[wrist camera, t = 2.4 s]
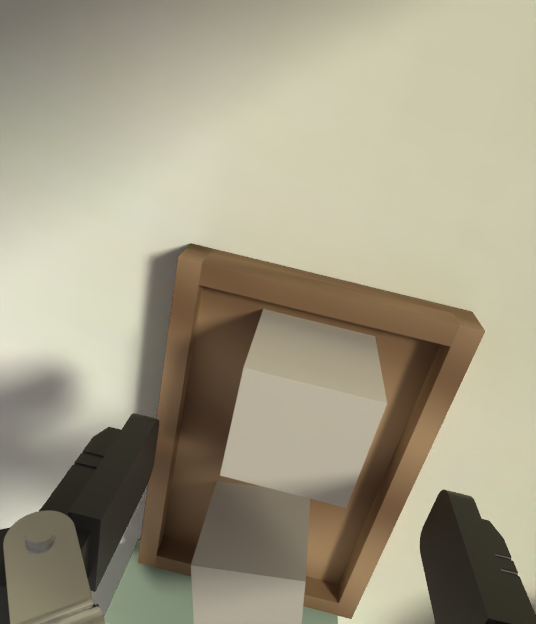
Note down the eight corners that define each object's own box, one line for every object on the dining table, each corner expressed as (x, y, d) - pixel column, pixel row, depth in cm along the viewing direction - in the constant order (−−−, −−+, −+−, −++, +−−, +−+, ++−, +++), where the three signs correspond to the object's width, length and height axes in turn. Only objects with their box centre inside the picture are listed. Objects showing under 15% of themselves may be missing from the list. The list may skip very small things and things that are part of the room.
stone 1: (263, 308, 16) (243, 367, 13) (375, 336, 16) (387, 403, 13) (242, 400, 18) (219, 475, 14) (343, 426, 18) (346, 508, 14)
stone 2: (216, 481, 20) (191, 565, 16) (310, 492, 19) (305, 581, 16) (217, 547, 22) (194, 637, 18) (304, 558, 21) (298, 653, 17)
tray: (191, 243, 16) (178, 256, 15) (472, 312, 16) (485, 331, 15) (149, 535, 23) (137, 562, 21) (350, 587, 22) (351, 618, 21)
